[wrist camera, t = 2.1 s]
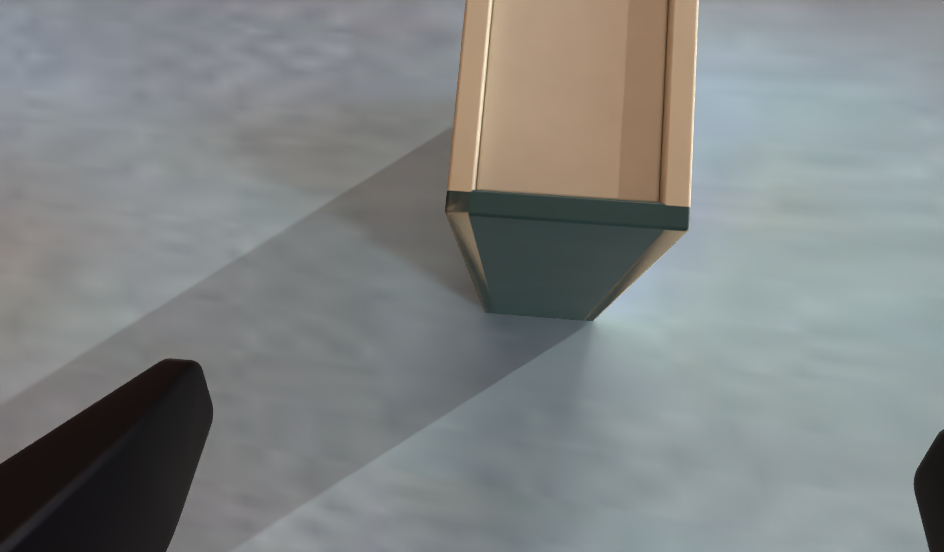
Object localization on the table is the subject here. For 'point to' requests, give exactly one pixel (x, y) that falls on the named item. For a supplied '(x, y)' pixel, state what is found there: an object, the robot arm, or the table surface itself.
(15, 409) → the table surface
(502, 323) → the table surface
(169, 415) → the robot arm
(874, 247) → the table surface
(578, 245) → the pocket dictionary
